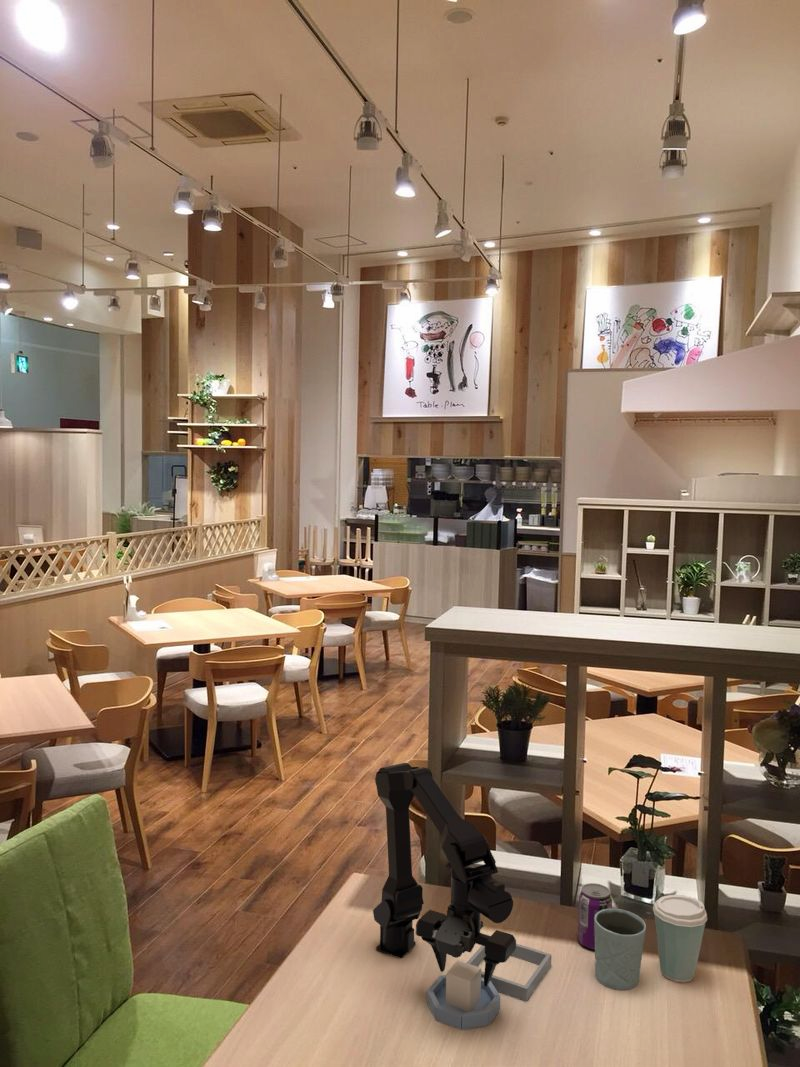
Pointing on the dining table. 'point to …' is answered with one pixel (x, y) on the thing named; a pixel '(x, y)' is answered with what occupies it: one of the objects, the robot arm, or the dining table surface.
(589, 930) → the beverage can
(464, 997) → the stone block
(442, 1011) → the ceramic bowl
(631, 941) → the embossed ceramic cup
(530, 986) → the open square frame
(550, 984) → the dining table surface
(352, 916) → the dining table surface
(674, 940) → the disposable coffee cup
